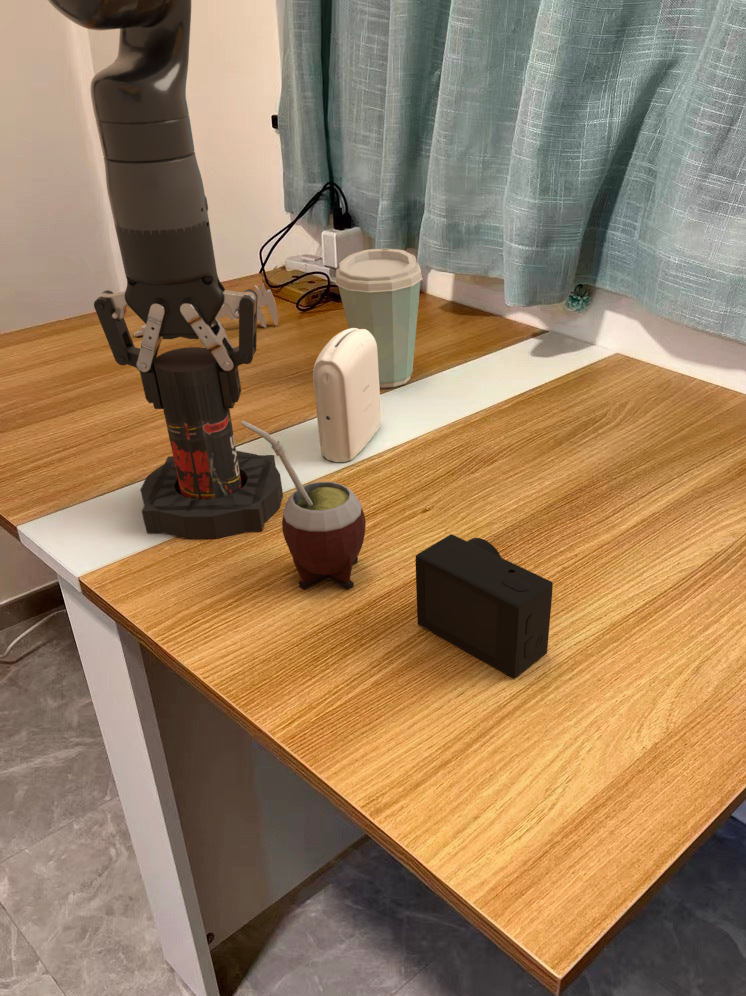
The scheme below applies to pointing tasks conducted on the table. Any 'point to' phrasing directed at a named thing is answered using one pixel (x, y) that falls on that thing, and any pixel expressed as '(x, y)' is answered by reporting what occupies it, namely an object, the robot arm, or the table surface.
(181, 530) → the dock pad
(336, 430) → the photo printer
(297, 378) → the table surface
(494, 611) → the digital camera
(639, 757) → the table surface
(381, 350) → the disposable coffee cup
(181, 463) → the deodorant
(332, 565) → the mate gourd
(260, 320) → the caliper
